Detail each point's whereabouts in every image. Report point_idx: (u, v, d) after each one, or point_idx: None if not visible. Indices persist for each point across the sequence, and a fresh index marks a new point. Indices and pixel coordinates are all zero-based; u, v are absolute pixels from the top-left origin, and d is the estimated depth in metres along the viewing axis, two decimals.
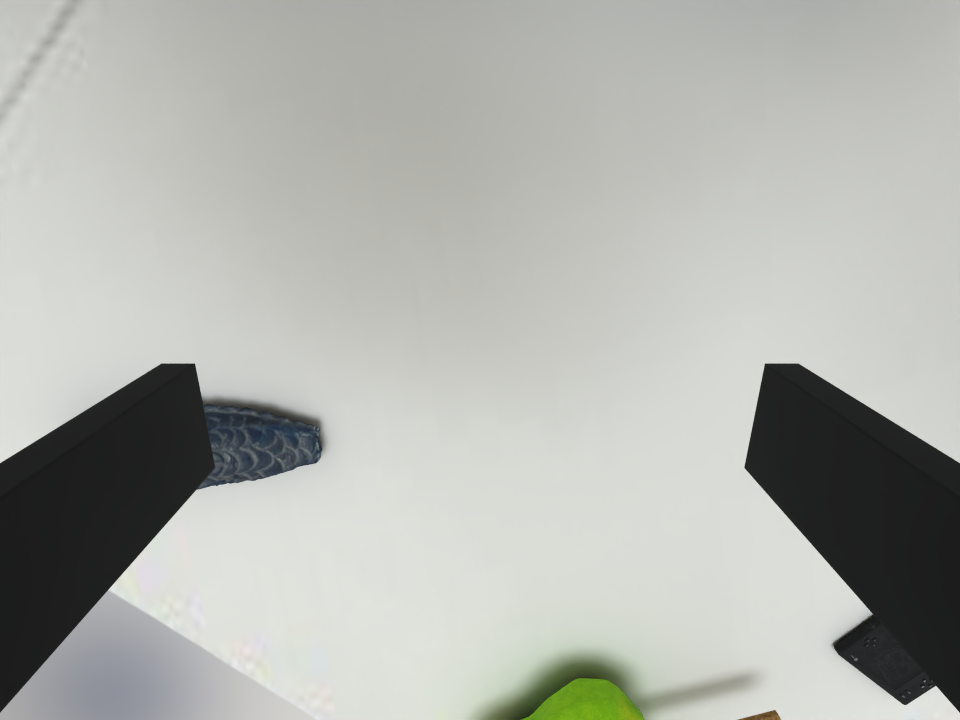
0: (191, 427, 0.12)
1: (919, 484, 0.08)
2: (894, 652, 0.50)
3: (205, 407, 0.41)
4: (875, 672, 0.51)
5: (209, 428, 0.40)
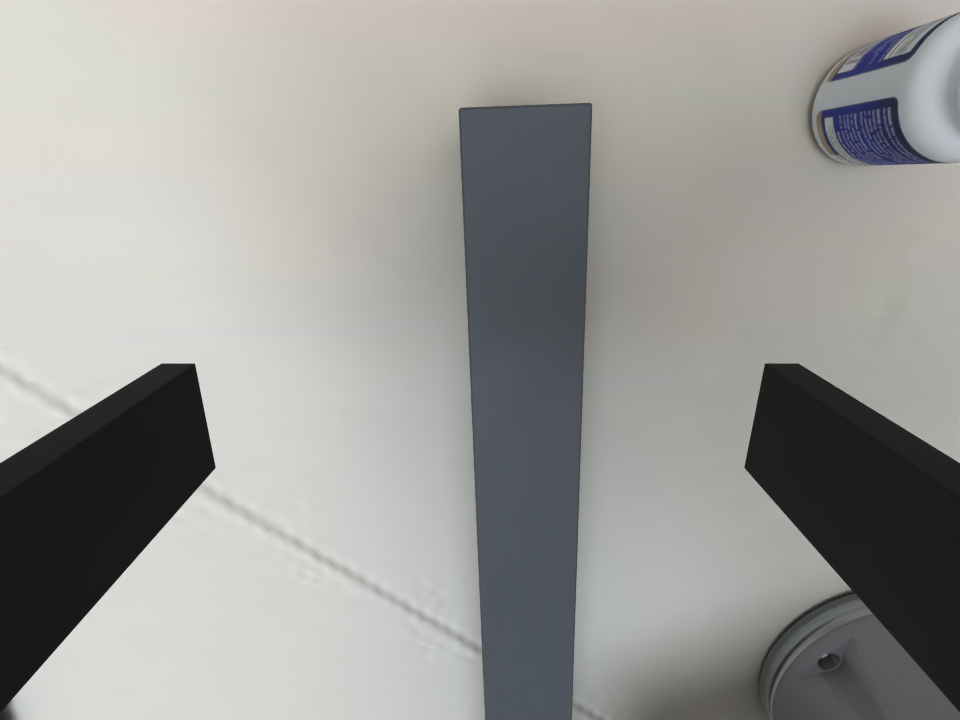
0: (191, 427, 0.12)
1: (919, 484, 0.08)
2: None
3: None
4: None
5: None
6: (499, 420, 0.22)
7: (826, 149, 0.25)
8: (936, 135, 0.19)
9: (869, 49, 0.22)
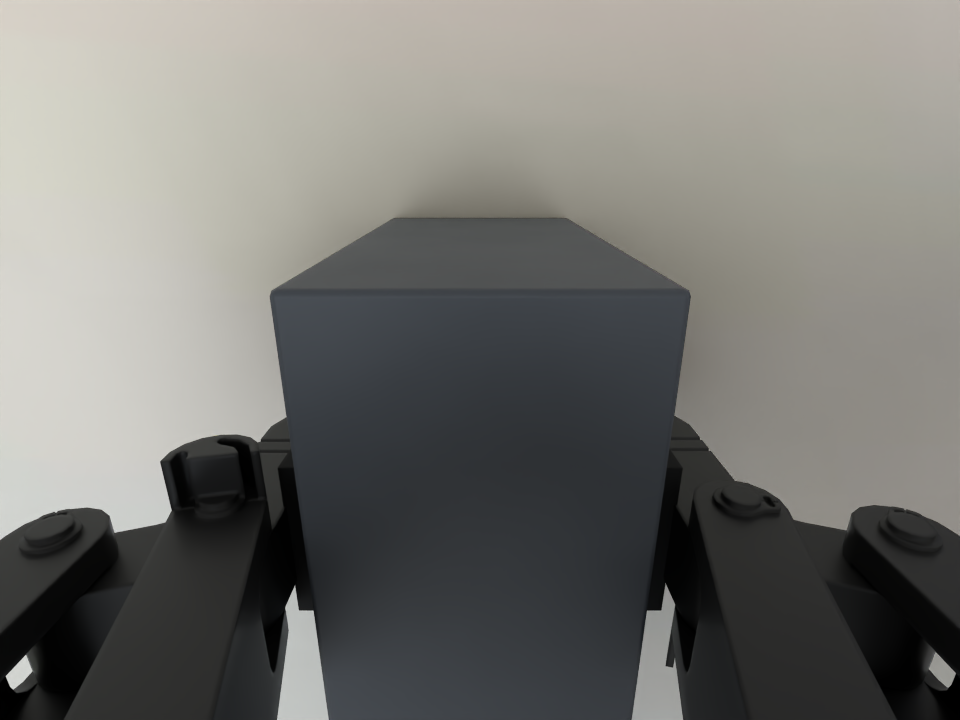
0: None
1: None
2: None
3: None
4: None
5: None
6: None
7: None
8: None
9: None
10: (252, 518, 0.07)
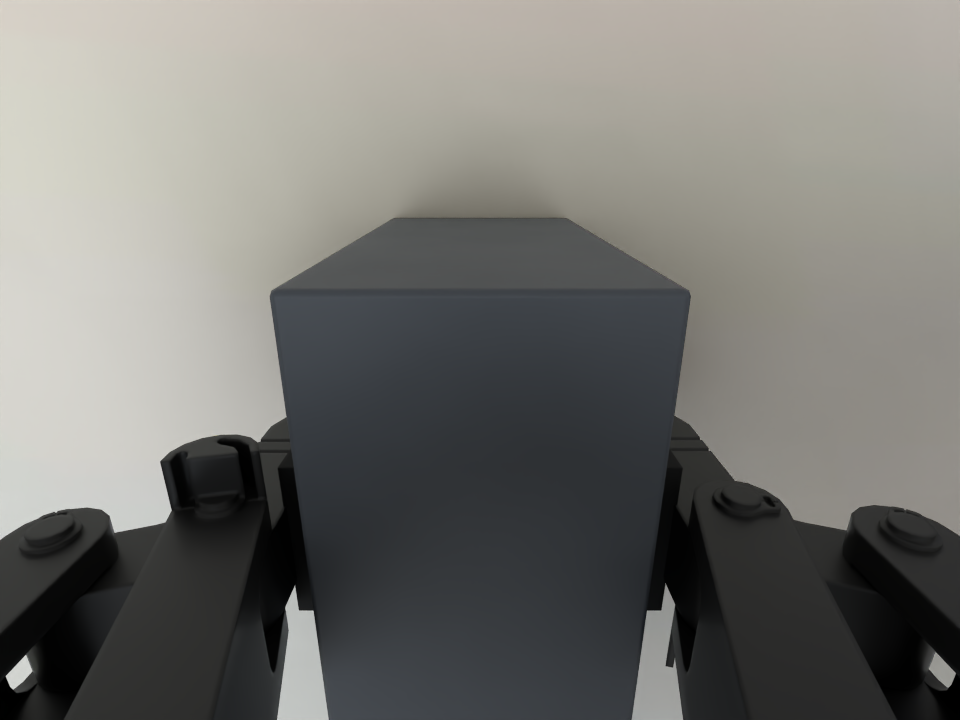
0: None
1: None
2: None
3: None
4: None
5: None
6: None
7: None
8: None
9: None
10: (252, 518, 0.07)
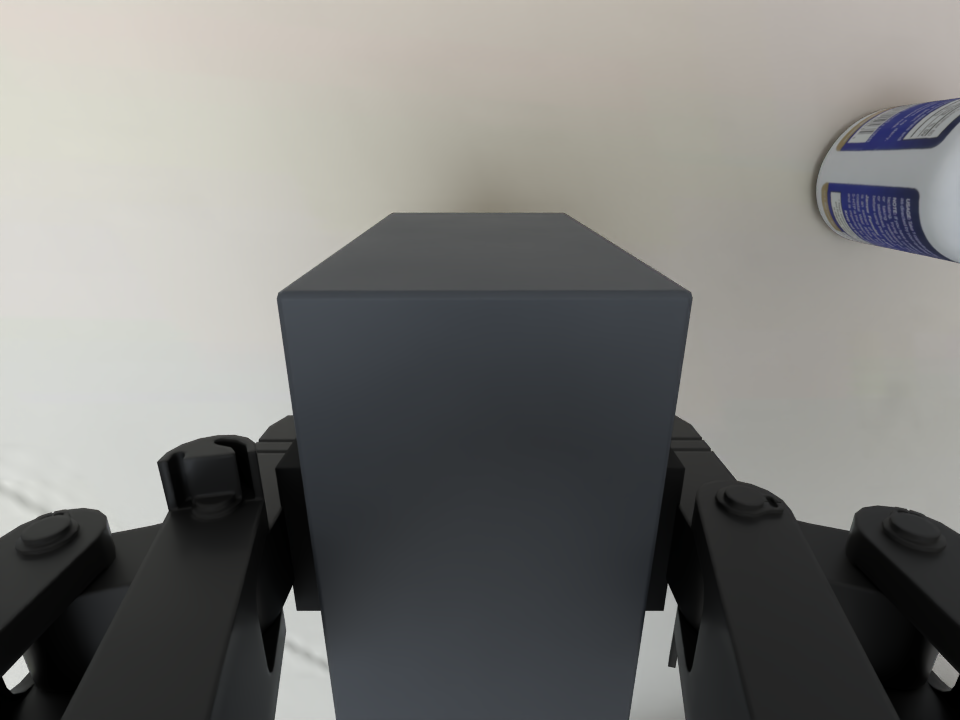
0: None
1: None
2: None
3: None
4: None
5: None
6: None
7: (830, 224, 0.22)
8: None
9: (886, 120, 0.19)
10: (249, 518, 0.07)
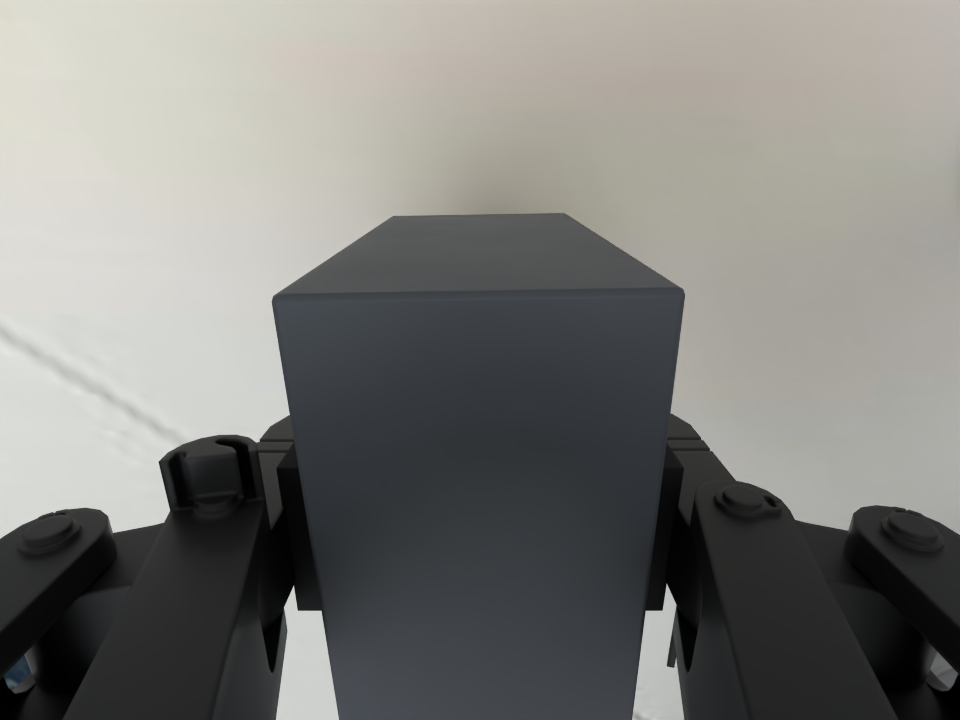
0: None
1: None
2: None
3: None
4: None
5: None
6: None
7: None
8: None
9: None
10: (251, 518, 0.07)
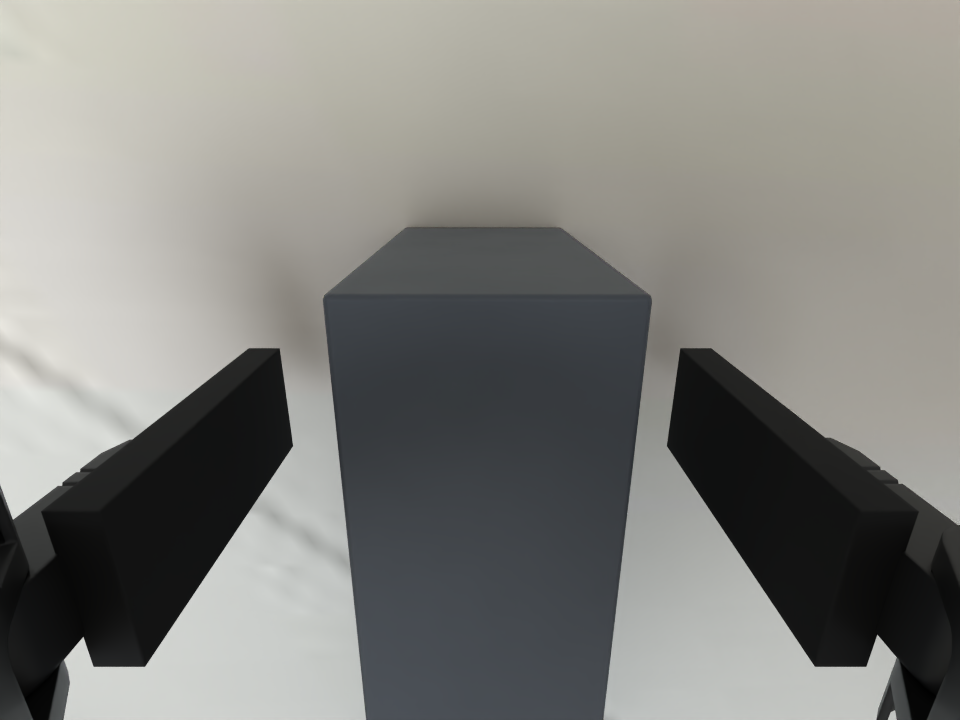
0: (277, 407, 0.13)
1: (776, 448, 0.09)
2: None
3: None
4: None
5: None
6: None
7: None
8: None
9: None
10: None
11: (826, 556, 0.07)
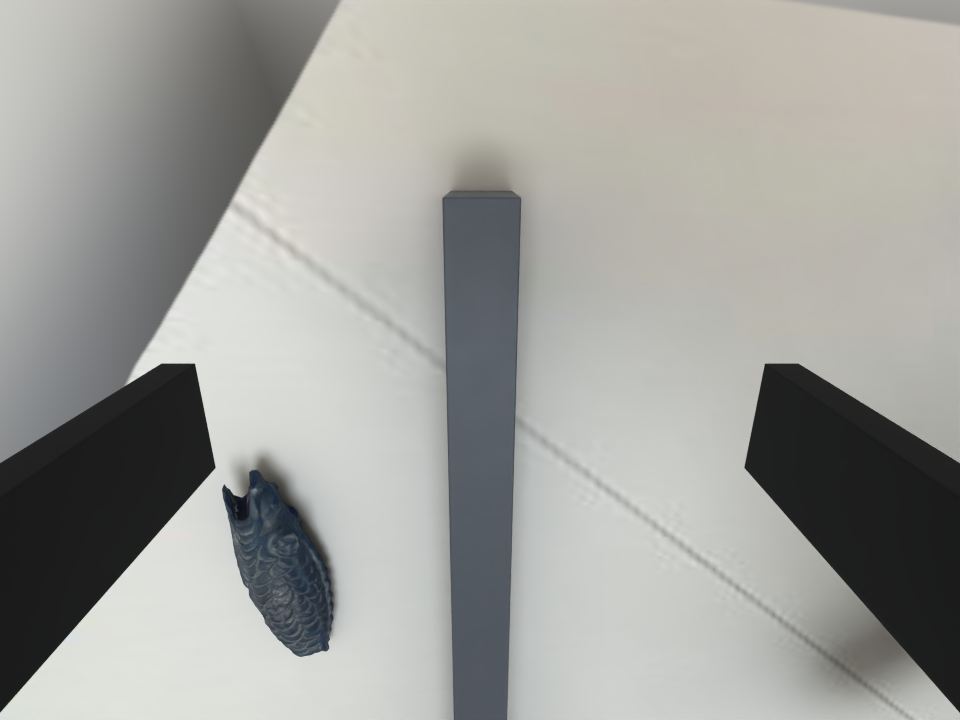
0: (191, 427, 0.12)
1: (919, 484, 0.08)
2: None
3: (327, 582, 0.48)
4: None
5: (312, 600, 0.47)
6: (464, 385, 0.34)
7: None
8: None
9: None
10: None
11: None
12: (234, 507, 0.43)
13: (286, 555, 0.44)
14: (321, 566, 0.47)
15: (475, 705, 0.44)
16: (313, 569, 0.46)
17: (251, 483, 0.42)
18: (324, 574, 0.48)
